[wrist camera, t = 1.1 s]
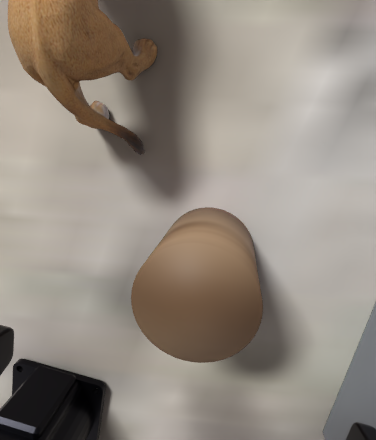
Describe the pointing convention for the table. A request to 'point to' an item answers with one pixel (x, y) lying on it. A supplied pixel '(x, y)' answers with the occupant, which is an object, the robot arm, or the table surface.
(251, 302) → the brown rounded cylinder
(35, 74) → the lion figurine
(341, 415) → the low wall
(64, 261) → the table surface
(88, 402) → the robot arm
